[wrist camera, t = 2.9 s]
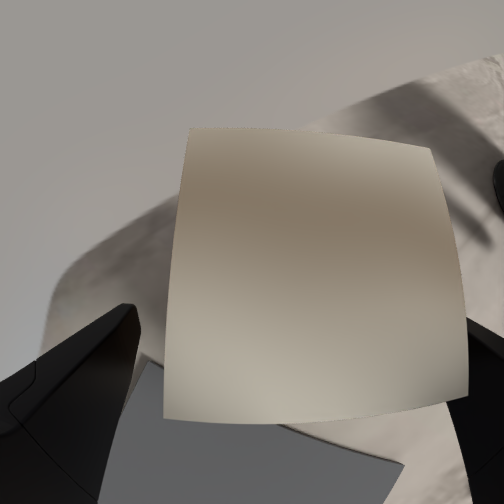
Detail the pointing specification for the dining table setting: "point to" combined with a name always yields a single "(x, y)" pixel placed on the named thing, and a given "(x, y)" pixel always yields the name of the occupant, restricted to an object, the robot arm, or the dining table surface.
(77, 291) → the dining table surface
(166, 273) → the dining table surface
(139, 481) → the charcoal mat
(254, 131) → the wooden block
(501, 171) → the milk frother
